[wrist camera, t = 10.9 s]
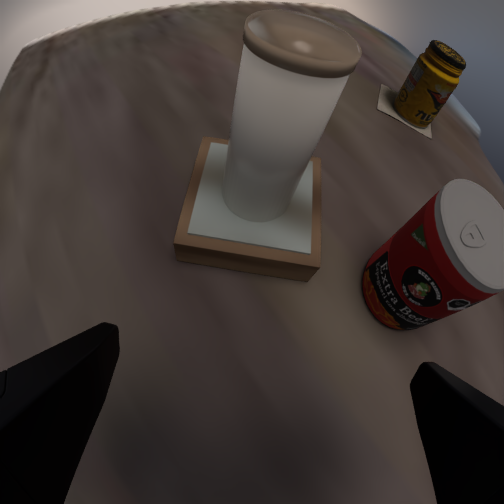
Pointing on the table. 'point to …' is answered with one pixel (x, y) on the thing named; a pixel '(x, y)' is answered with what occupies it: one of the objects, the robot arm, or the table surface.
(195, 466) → the table surface
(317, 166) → the plinth
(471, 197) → the canned food
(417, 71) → the condiment
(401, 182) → the table surface
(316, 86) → the tumbler
